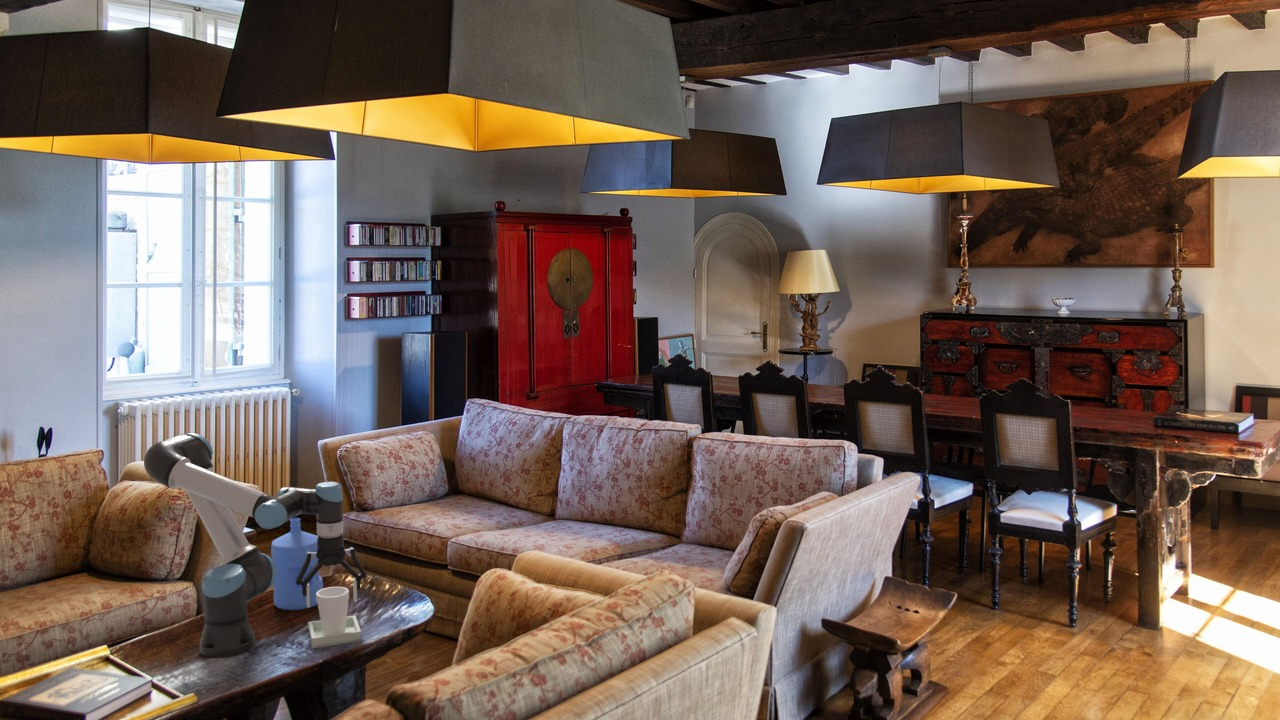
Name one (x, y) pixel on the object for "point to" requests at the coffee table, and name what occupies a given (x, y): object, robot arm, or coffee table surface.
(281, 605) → the water jug
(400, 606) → the coffee table surface
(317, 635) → the tray
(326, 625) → the foam cup
